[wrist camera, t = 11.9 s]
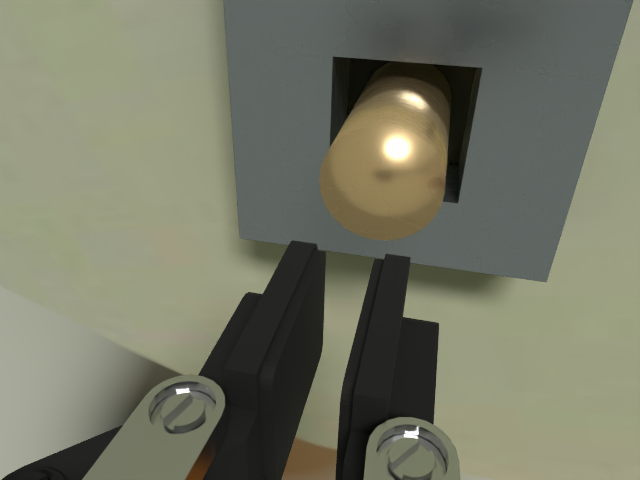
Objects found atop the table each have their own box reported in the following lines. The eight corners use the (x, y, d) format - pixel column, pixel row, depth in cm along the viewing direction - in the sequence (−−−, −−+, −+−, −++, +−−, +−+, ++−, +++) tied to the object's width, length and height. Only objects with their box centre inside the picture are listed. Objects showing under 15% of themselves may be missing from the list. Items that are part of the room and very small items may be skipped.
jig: (697, -344, 16) (761, -414, 12) (535, 235, 26) (546, 282, 23) (246, -318, 18) (198, -371, 15) (265, 200, 29) (239, 238, 25)
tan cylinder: (457, 61, 23) (454, 132, 15) (444, 148, 25) (435, 248, 17) (366, 54, 23) (320, 119, 16) (360, 139, 26) (317, 231, 18)
